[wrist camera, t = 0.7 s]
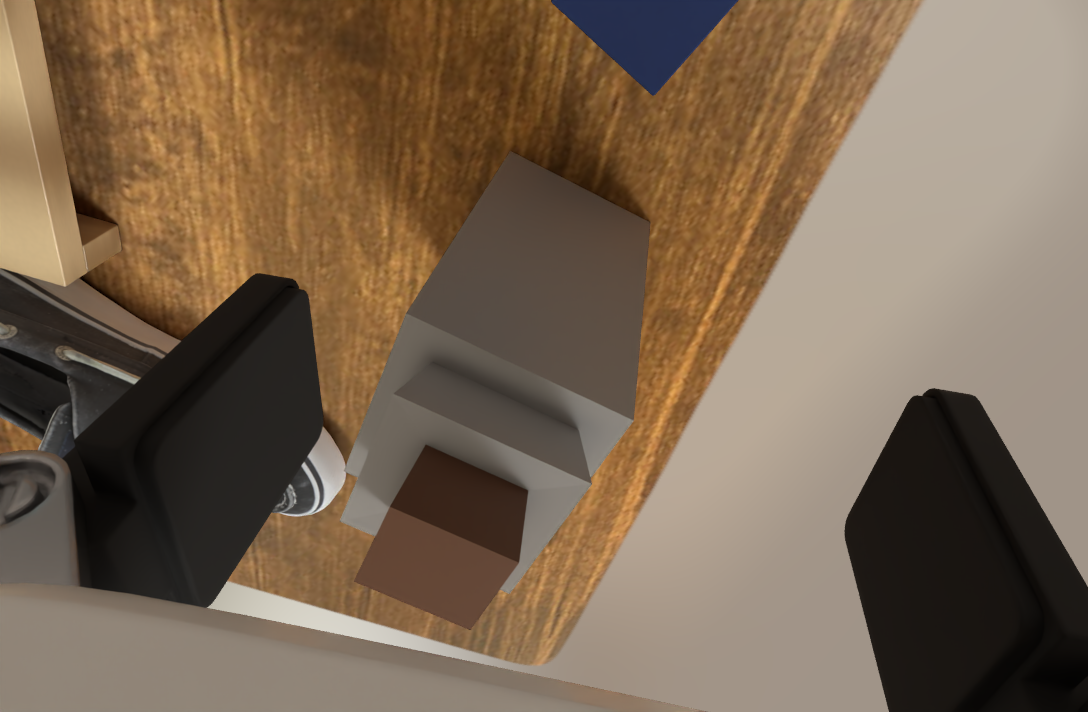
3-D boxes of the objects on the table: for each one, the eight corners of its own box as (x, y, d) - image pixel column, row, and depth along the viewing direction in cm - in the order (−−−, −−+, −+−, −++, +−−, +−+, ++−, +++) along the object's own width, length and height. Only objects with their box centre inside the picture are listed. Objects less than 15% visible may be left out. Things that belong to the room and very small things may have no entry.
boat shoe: (377, 441, 40) (317, 553, 33) (313, 511, 44) (248, 622, 38) (-30, 172, 34) (-205, 242, 27) (-56, 284, 38) (-211, 368, 32)
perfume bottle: (581, 335, 33) (506, 684, 19) (456, 274, 33) (275, 590, 18) (650, 222, 30) (622, 551, 15) (510, 151, 29) (335, 423, 14)
